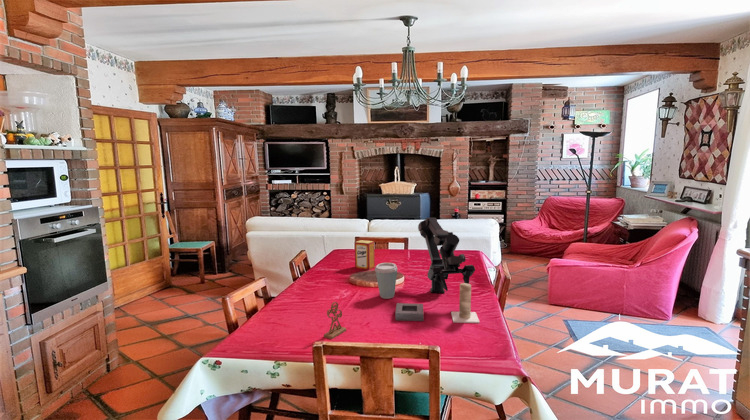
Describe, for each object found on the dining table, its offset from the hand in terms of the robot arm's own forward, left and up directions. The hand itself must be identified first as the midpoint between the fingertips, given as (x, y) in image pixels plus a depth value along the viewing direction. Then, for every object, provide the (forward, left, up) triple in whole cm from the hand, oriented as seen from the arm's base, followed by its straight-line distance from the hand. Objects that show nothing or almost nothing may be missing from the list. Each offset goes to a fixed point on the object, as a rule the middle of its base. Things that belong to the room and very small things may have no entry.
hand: (457, 289), depth 167 cm
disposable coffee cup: (-15, -31, -9) cm, 36 cm away
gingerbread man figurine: (+26, -47, -9) cm, 54 cm away
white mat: (+8, +2, -9) cm, 12 cm away
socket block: (+7, -20, -9) cm, 23 cm away
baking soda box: (-64, -47, -9) cm, 80 cm away
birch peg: (+8, +2, -8) cm, 12 cm away
